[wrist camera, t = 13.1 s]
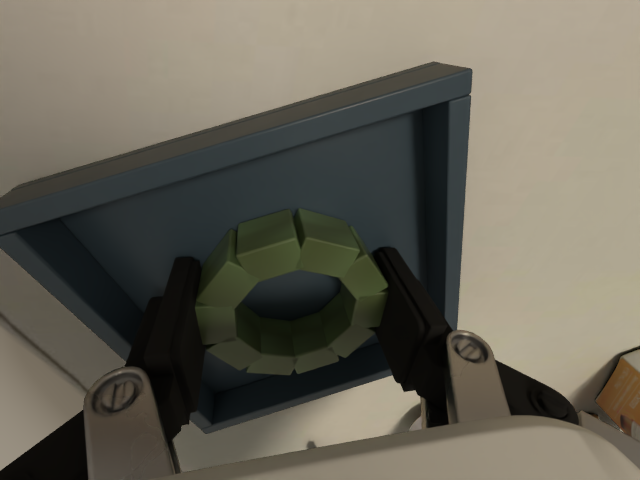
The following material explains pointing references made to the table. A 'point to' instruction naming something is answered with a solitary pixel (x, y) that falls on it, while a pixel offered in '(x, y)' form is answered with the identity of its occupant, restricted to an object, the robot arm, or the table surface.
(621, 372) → the small box
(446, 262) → the tray
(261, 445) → the table surface
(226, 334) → the ring
